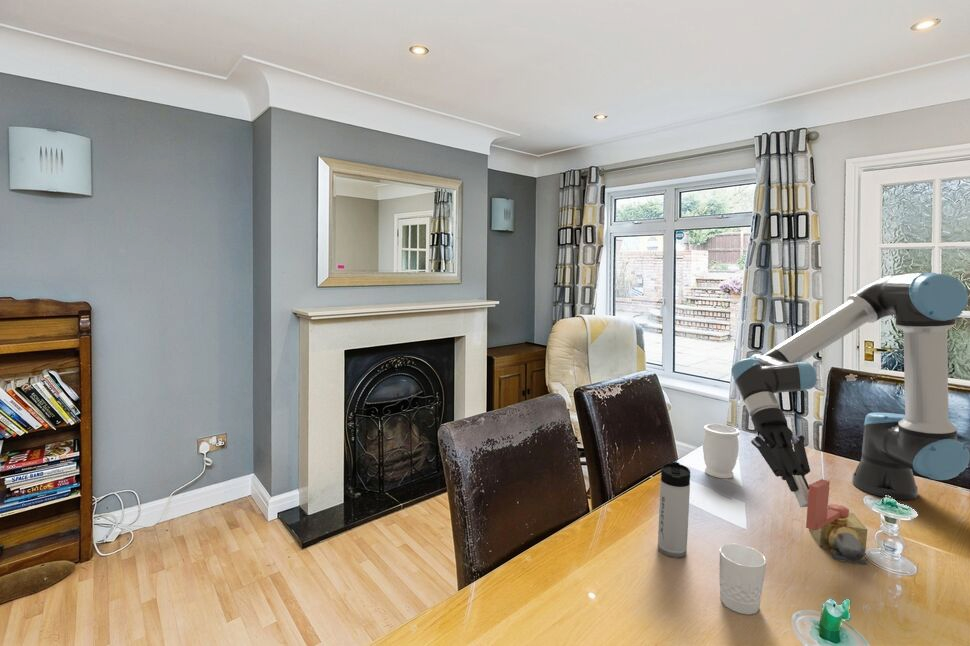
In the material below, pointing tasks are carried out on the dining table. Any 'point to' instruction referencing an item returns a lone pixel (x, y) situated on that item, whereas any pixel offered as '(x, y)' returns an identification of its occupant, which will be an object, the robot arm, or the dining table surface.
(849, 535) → the valve body
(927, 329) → the robot arm
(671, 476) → the travel mug
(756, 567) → the white cup
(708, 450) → the jar
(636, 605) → the dining table surface
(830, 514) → the lever
